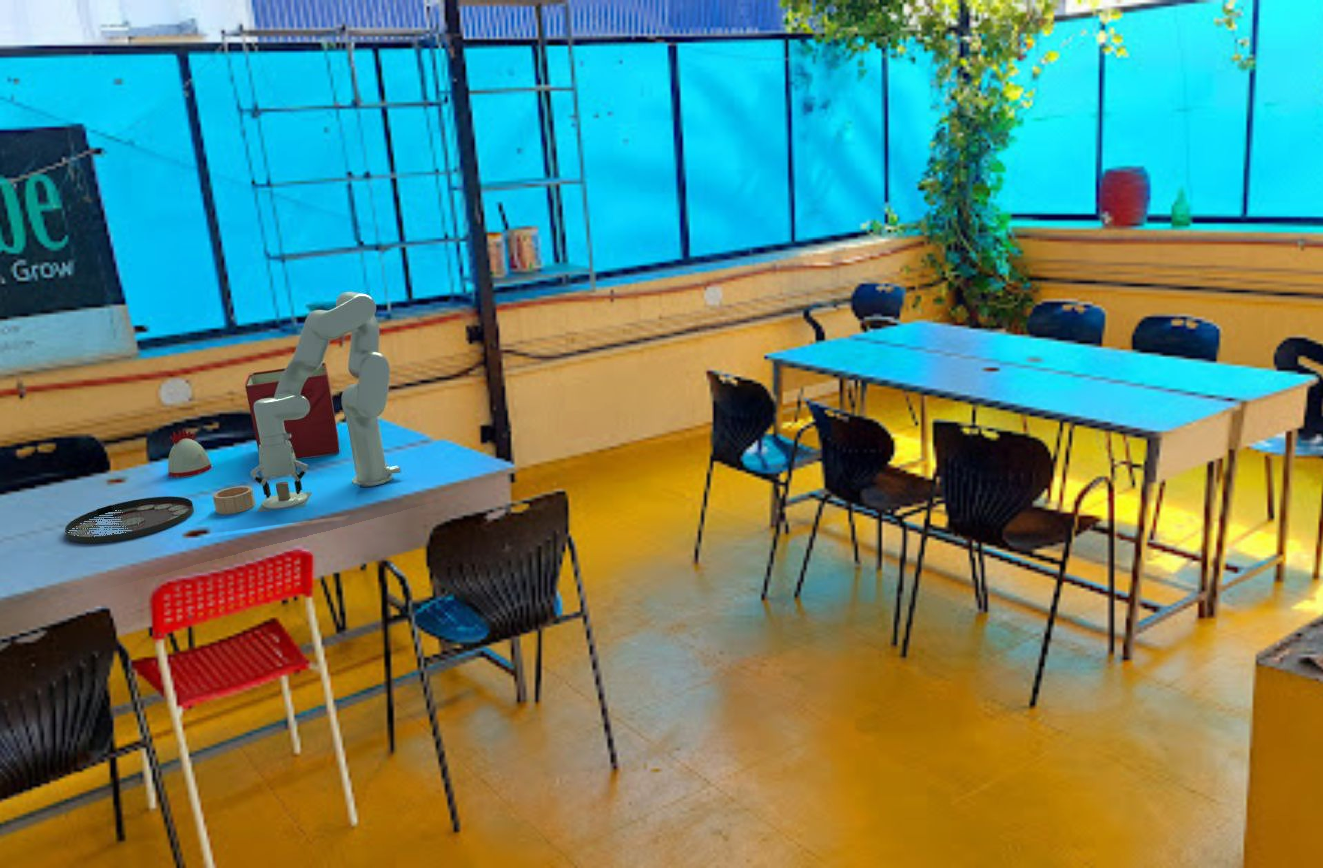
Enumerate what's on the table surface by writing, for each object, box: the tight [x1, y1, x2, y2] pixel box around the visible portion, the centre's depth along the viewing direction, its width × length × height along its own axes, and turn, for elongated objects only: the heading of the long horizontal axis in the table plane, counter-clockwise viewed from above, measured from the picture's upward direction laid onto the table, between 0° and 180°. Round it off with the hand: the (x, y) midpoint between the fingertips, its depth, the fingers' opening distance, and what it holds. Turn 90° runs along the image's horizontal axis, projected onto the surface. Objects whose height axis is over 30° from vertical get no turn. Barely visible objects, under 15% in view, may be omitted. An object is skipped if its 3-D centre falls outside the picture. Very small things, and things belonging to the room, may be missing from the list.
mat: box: [256, 491, 313, 513], centre depth 334 cm, size 14×14×1 cm
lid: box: [261, 481, 307, 510], centre depth 333 cm, size 13×13×6 cm
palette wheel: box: [64, 496, 195, 544], centre depth 331 cm, size 35×35×3 cm
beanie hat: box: [167, 429, 212, 478], centre depth 381 cm, size 14×14×15 cm
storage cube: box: [244, 362, 340, 460], centre depth 392 cm, size 32×28×29 cm
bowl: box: [212, 485, 256, 515], centre depth 332 cm, size 11×11×6 cm
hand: (283, 494), depth 333 cm, fingers open, 8 cm apart
